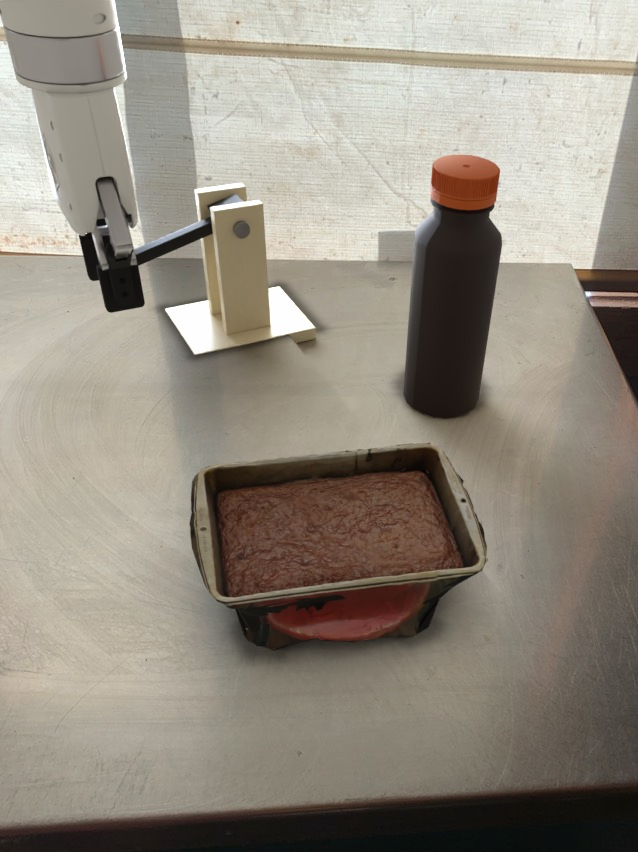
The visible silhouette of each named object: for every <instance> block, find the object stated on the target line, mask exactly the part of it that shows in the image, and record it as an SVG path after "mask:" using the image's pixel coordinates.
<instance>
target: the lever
mask: <svg viewBox="0 0 638 852" xmlns="http://www.w3.org/2000/svg"><path fill="white" fill-rule="evenodd" d="M240 202H243V201H242V200H241V198H240V197H239V196H238V195H237V194H233V195H231V196H229V197H226V198H224V199H222V200H219V201H217V202H215V203H212V204H210V205H208V206H207V207H208V210H209V212H210V207H213V206H220V205H227V204H233V203H240ZM210 215H211V212H210ZM211 234H213V230H212V221H211V216H210V217H208V218H206V219H203V220H201V221H199V222H198V221H196V222H194V223H191V224H189V225H187V226H184V227H182V228H179V229H178V230H175V231H173V232H171V233H168V234H165V235H164V236H161V237H159V238H157V239H154V240H152V241H150V242H147V243H145V244H142V245H141V246H137V247H136V248H134V251H135V255H136V260H137V262H138V267H140V266H141V265H144V264H146V263H148V262H150V261H153V260H155V259H158V258H160V257H162V256H165V255H167V254H169V253H172V252H173V251H176V250H178V249H181V248H184V247H186V246H188V245H190V244H192V243H194V242H197V241H200V239H202V238H204V237H206V236H209V235H211ZM104 248H106V247H104ZM97 257H98V256H97Z"/></svg>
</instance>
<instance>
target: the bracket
mask: <svg viewBox="0 0 638 852" xmlns="http://www.w3.org/2000/svg"><path fill="white" fill-rule="evenodd" d="M193 190H194V198H195V206H196V214H197V222H199V221H201V220H203V219H206V218H208V217H210V216H211V221H212V230H213V234H211V235H209V236H206V237H204V238H202V239H199V241H200V248H201V254H202V255H201V256H202V263H203V272H204V281H205V286H206V287H205V288H206V296H207V300H202V301H197V302H193V303H186V304H182V305H177V306H172V307H166V308H164V311H165V313H166V315H167V316H168V317H169V319H170V320H171V322H172V323H173V325H174V326H175V328H176V329H177V332H178V333H179V335H181V337H182V339H183V340H184V342H185V343H186V345H187V346H188V348H189V350H190V351H191V352H192V354H193V355H194V356H200V355H204V354H209V353H214V352H218V351H223V350H227V349H231V348H235V347H240V346H246V345H249V344H253V343H258V342H262V341H263V342H264V341H268V340H272V339H276V338H282V337H286V336H288V337H290V339H291V340H292V341H293V342H294V343H295V344H299V343H302V342H307V341H311V340H316V339H317V327H316V326H315V325H314V324H313V323H312V322H311V320H310V319H309V318H308V317H307V316H306V314H304V313H303V311H302V310H301V309H300V308H299V307H298V306H297V305H296V304H295V302H294V301H293V300H292V299H291V297H289V295H288V294H287V293H286V291H284V289H282V288H281V286H274V287H269V275H268V259H267V243H266V229H265V214H264V213H265V212H264V203H263V202H262V201H261V200H260V199H255V200H254V199H253V200H249V201H248V194H247V186H246V185H245V184H244V183H243V182H236V183H230V184H222V185H215V186H207V187H201V188H199V187H198V188H195V189H193ZM233 194H237V195H238V196H239V197H240V198H241V200H242V201H243V202H240V203H233V204H227V205H220V206H213V207H210V212H211V215H210V212H209V210H208V207H207V206H208V205H210V204H212V203H215V202H217V201H219V200H222V199H224V198H226V197H229V196H231V195H233Z"/></svg>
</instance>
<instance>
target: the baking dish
mask: <svg viewBox="0 0 638 852" xmlns="http://www.w3.org/2000/svg"><path fill="white" fill-rule="evenodd" d="M464 482H465V480H464V479H463V477H461V475H459V474H458V472H457V471H456V470H455V468H454V467H453V463H452V462H451V461H450V459H449V457H448V455H446V453H445V451H444V450H443V449H442V448H440V447H439V446H438V445H437V444H433V443H432V442H420V443H403V444H402V443H401V444H397V445H392V446H391V445H390V446H382V447H372V448H366V449H365V448H364V449H362V448H361V449H360V448H359V449H355V450H343V451H342V450H341V451H333V452H325V453H318V454H308V455H307V454H306V455H296V456H287V457H277V458H268V459H267V458H266V459H260V460H247V461H238V462H224V463H223V462H222V463H216V464H213V465H212V464H211V465H207V466H205V467H203V468H202V469H200V470H199V471H198V472H197V473H196V475H194V477H193V479H192V480H191V491H190V505H191V506H190V511H191V513H190V519H189V529H190V531H189V534H190V543H191V550H192V553H193V556H194V559H195V561H196V564H197V567H198V570H199V572H200V575H201V578H202V582H203V584H204V587H205V588H206V589H207V591H208V593H209V594H210V595H211V596H212V597H213V599H214V600H215V601H216V602H217V603H220V604H222V605H225V606H226V608H229V609H231V610H235V612H236V615H237V619H238V622H239V624H240V627H241V630H242V634H243V636H244V637H245V639H246V640H247V641H248V642H250V643H252V644H254V645H255V646H256V647H264V648H266V649H269V650H270V651H275V650H276V649H279V648H283V647H287V646H291V645H295V644H297V643H301V642H306V641H309V640H312V639H319V640H321V641H322V642H344V643H353V644H356V643H359V642H364V641H369V640H376V639H385V638H393V637H401V636H405V637H406V636H407V637H415V636H417V635H419V634H421V633H422V632H424V631H425V630H426V629H428V628H429V627H430V624H431V622H432V620H433V617H434V614H435V612H436V610H437V607H438V605H439V602H440V599H441V598H443V597H444V596H445V595H446V594H447V593H448V592H450V590H451V589H452V588H454V587H456V586H457V585H459V584H461V583H463V582H465V581H466V580H468V579H470V578H472V577H474V576H475V575H477V574H479V573H481V572H482V571H483V569H484V567H485V566H486V563H487V553H488V552H487V551H488V545H487V541H486V535H485V529H484V527H483V525H482V523H481V522H480V521H479V517H478V514H477V513H476V512H475V509H474V505H473V502H472V499H471V497H470V494H469V492H468V489H466V488H465V485H464Z"/></svg>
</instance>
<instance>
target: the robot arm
mask: <svg viewBox="0 0 638 852" xmlns="http://www.w3.org/2000/svg"><path fill="white" fill-rule="evenodd" d="M0 19H1V23H2V26H3V27H2V28H3V31H4V35H5V40H6V43H7V47H8V51H9V55H10V59H11V63H12V67H13V71H14V75H15V80H16V81H17V83H18V84H20V85H21V86H23V87H26V88H28V89H31V95H32V96H31V97H32V101H33V107H34V111H35V117H36V122H37V127H38V131H39V135H40V140H41V145H42V146H41V147H42V149H43V150H42V151H43V153H44V159H45V164H46V170H47V174H48V180H49V184H50V189H51V192H52V195H53V197H54V200H55V201H56V203H57V205H58V207H59V209H60V211H61V212H62V214H63V216H64V217H65V219H66V221H67V223H68V224H69V227H70V228H71V229H72V230H73V232H75V234H77V235H78V239H79V243H80V248H81V252H82V257H83V261H84V265H85V269H86V275H87V277H88V279H89V280H90V281H91V282H96V281H99V286H100V290H101V291H100V292H101V295H102V301H103V305H104V308H105V311H107V312H108V313H110V314H111V313H117V312H122V311H128V310H134V309H139V308H143V307H144V306H145V305H146V302H145V296H144V289H143V285H142V280H141V273H140V269H139V267H140V266H138V262H137V260H136V255H135V251H134V249H135V247H134V244H133V238H132V235H131V231H130V229H134V228H136V226H137V225H138V223H139V211H138V203H137V202H138V201H137V196H136V195H137V194H136V190H135V183H134V178H133V172H132V171H133V170H132V166H131V160H130V156H129V150H128V145H127V141H126V136H125V135H126V134H125V131H124V126H123V117H122V116H121V112H120V107H119V103H118V97H117V93H116V88H117V87H119V86H120V85H122V84H124V83H125V82H126V81H127V78H128V73H127V69H126V63H125V56H124V50H123V44H122V38H121V37H122V36H121V31H120V26H119V18H118V13H117V7H116V1H115V0H0ZM104 247H106V248H104ZM97 256H98V257H97Z"/></svg>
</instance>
